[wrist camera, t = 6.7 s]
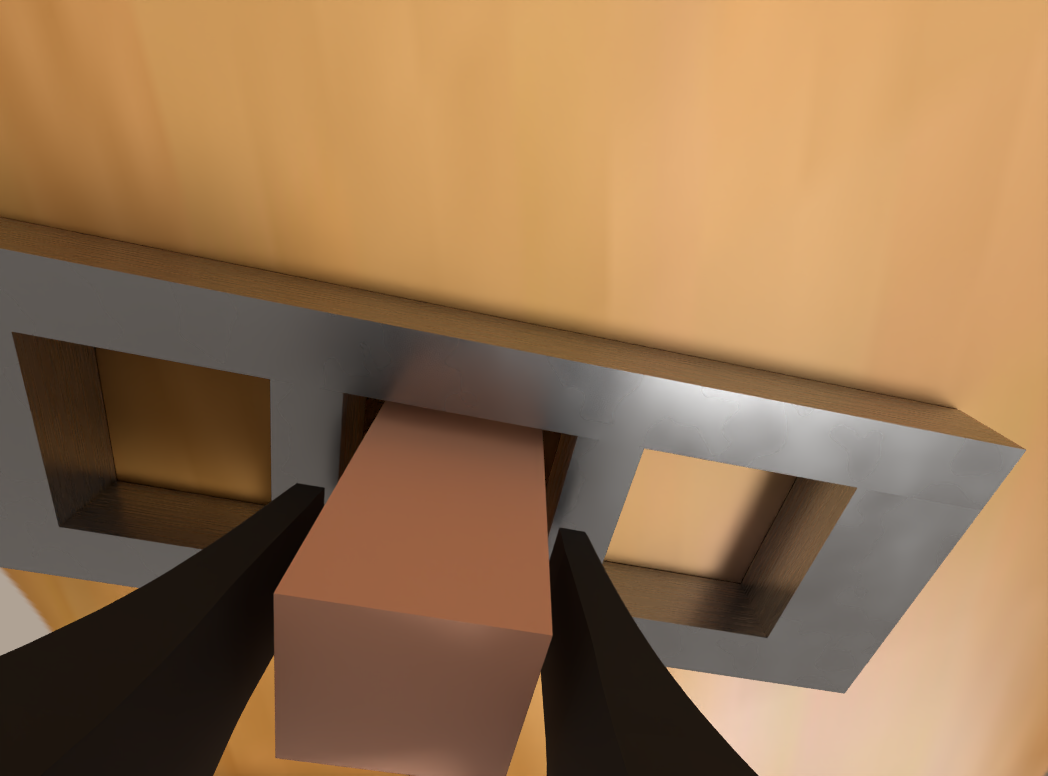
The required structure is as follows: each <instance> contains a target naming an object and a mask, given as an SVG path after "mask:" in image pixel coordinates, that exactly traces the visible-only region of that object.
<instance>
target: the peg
mask: <svg viewBox="0 0 1048 776" xmlns="http://www.w3.org/2000/svg"><path fill="white" fill-rule="evenodd" d="M552 636H553V634H552V614H551V593H550V573H549V552H548V532H547V511H546V491H545V470H544V450H543V430H542V429H537V428H532V427H526V426H521V425H515V424H510V423H505V422H499V421H494V420H488V419H483V418H477V417H472V416H467V415H461V414H456V413H450V412H445V411H440V410H434V409H429V408H423V407H418V406H412V405H407V404H402V403H396V402H391V401H385V402H384V404H383V406H382V407H381V409H380V411H379V413H378V414H377V416H376V418H375V420H374V421H373V423H372V425H371V426H370V428H369V430H368V432H367V433H366V435H365V437H364V438H363V440H362V442H361V444H360V445H359V447H358V449H357V451H356V452H355V454H354V456H353V457H352V459H351V461H350V463H349V464H348V466H347V468H346V469H345V471H344V473H343V475H342V476H341V478H340V480H339V482H338V483H337V485H336V487H335V488H334V490H333V492H332V494H331V495H330V497H329V499H328V500H327V502H326V504H325V506H324V507H323V509H322V511H321V512H320V514H319V516H318V518H317V519H316V521H315V523H314V525H313V526H312V528H311V530H310V531H309V533H308V535H307V537H306V538H305V540H304V542H303V543H302V545H301V547H300V549H299V550H298V552H297V554H296V556H295V557H294V559H293V561H292V562H291V564H290V566H289V568H288V569H287V571H286V573H285V574H284V576H283V578H282V580H281V581H280V583H279V585H278V587H277V588H276V590H275V592H274V670H275V751H276V758H280V759H287V760H295V761H303V762H311V763H319V764H327V765H335V766H343V767H351V768H359V769H367V770H375V771H383V772H390V773H398V774H406V775H414V776H506V774H507V771H508V768H509V765H510V762H511V759H512V756H513V753H514V750H515V747H516V744H517V741H518V738H519V735H520V732H521V729H522V726H523V723H524V720H525V717H526V714H527V711H528V708H529V705H530V702H531V699H532V696H533V693H534V690H535V687H536V684H537V681H538V678H539V675H540V672H541V669H542V666H543V663H544V660H545V657H546V654H547V651H548V648H549V645H550V642H551V639H552Z"/></svg>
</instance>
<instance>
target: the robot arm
mask: <svg viewBox="0 0 1048 776" xmlns="http://www.w3.org/2000/svg"><path fill="white" fill-rule="evenodd" d="M324 497H325V488H324V487H318V486H312V485H306V484H300V483H296V484H295V485H293V486H292V487H290V488H289V489H287V490H286V491H285V492H283V493H282V494H281V495H279V496H278V497H276V498H275V499H274V500H272V501H271V502H270V503H268V504H267V505H266V506H264V507H263V508H262V509H260V510H259V511H257V512H256V513H255V514H253V515H252V516H250V517H249V518H248V519H246V520H245V521H244V522H242V523H241V524H239V525H238V526H236V527H235V528H233V529H232V530H231V531H229V532H228V533H226V534H225V535H223V536H222V537H220V538H219V539H217V540H216V541H215V542H213V543H212V544H210V545H209V546H207V547H206V548H204V549H202V550H201V551H199V552H198V553H196V554H195V555H193V556H191V557H190V558H188V559H187V560H185V561H183V562H182V563H180V564H179V565H177V566H176V567H174V568H172V569H171V570H169V571H168V572H166V573H164V574H163V575H161V576H159V577H158V578H156V579H154V580H152V581H151V582H149V583H147V584H146V585H144V586H142V587H140V588H139V589H137V590H135V591H133V592H131V593H130V594H128V595H126V596H124V597H122V598H120V599H118V600H117V601H115V602H113V603H111V604H109V605H107V606H105V607H103V608H101V609H99V610H98V611H96V612H94V613H91V614H89V615H87V616H85V617H83V618H81V619H79V620H77V621H75V622H73V623H71V624H68V625H66V626H64V627H62V628H60V629H58V630H56V631H54V632H52V633H50V634H48V635H45V636H43V637H41V638H39V639H37V640H35V641H33V642H31V643H29V644H26V645H24V646H22V647H20V648H17V649H15V650H13V651H10V652H8V653H6V654H3V655H1V656H0V776H213V775H214V772H215V770H216V768H217V766H218V763H219V761H220V759H221V757H222V755H223V752H224V750H225V748H226V746H227V743H228V741H229V739H230V737H231V735H232V732H233V730H234V728H235V726H236V724H237V722H238V720H239V718H240V716H241V714H242V712H243V710H244V708H245V706H246V704H247V702H248V700H249V698H250V697H251V695H252V693H253V691H254V689H255V688H256V686H257V684H258V682H259V680H260V679H261V677H262V675H263V673H264V672H265V670H266V668H267V666H268V664H269V663H270V661H271V659H272V657H273V655H274V592H275V590H276V588H277V587H278V585H279V583H280V581H281V580H282V578H283V576H284V574H285V573H286V571H287V569H288V568H289V566H290V564H291V562H292V561H293V559H294V557H295V556H296V554H297V552H298V550H299V549H300V547H301V545H302V543H303V542H304V540H305V538H306V537H307V535H308V533H309V531H310V530H311V528H312V526H313V525H314V523H315V521H316V519H317V518H318V516H319V514H320V512H321V511H322V509H323V507H324ZM549 573H550V593H551V614H552V634H553V636H552V639H551V642H550V645H549V648H548V651H547V654H546V657H545V660H544V663H543V666H542V669H541V682H542V695H543V709H544V722H545V736H546V758H547V776H758V775H757V774H756V773H755V772H754V770H753V769H752V768H751V767H750V766H749V765H748V764H747V763H746V762H745V761H744V760H743V759H742V758H741V757H740V756H739V755H738V754H737V753H736V751H735V750H734V749H733V748H732V747H731V746H730V745H729V744H728V743H727V741H726V740H725V739H724V738H723V737H722V736H721V735H720V734H719V732H718V731H717V730H716V729H715V728H714V727H713V726H712V724H711V723H710V722H709V721H708V720H707V719H706V718H705V716H704V715H703V714H702V713H701V712H700V711H699V709H698V708H697V707H696V706H695V705H694V703H693V702H692V701H691V700H690V699H689V697H688V696H687V695H686V693H685V692H684V691H683V690H682V688H681V687H680V686H679V684H678V683H677V682H676V680H675V679H674V678H673V677H672V675H671V674H670V673H669V671H668V670H667V668H666V667H665V666H664V664H663V663H662V661H661V660H660V659H659V657H658V656H657V654H656V653H655V651H654V650H653V648H652V647H651V645H650V644H649V642H648V641H647V639H646V638H645V636H644V635H643V633H642V632H641V630H640V629H639V627H638V625H637V624H636V622H635V621H634V619H633V617H632V616H631V614H630V612H629V611H628V609H627V607H626V606H625V604H624V602H623V601H622V599H621V597H620V595H619V594H618V592H617V590H616V588H615V587H614V585H613V583H612V581H611V579H610V578H609V576H608V574H607V572H606V570H605V568H604V566H603V565H602V563H601V561H600V559H599V557H598V555H597V553H596V551H595V549H594V547H593V545H592V543H591V541H590V539H589V537H588V535H587V534H586V532H584V531H578V530H572V529H566V528H560V527H559V530H558V533H557V537H556V540H555V543H554V547H553V550H552V553H551V557H550V560H549Z"/></svg>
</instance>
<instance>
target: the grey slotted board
mask: <svg viewBox="0 0 1048 776" xmlns="http://www.w3.org/2000/svg"><path fill="white" fill-rule="evenodd" d="M94 347H98V348H104V349H109V350H114V351H120V352H125V353H131V354H136V355H141V356H147V357H152V358H158V359H163V360H169V361H174V362H179V363H185V364H190V365H196V366H201V367H207V368H212V369H217V370H223V371H228V372H234V373H239V374H244V375H250V376H255V377H261V378H266V379H270V408H271V493H272V500H274V499H275V498H276V497H278V496H279V495H281V494H282V493H283V492H285V491H286V490H287V489H289V488H290V487H292V486H293V485H295V484H296V483H300V484H306V485H312V486H318V487H324V488H325V497H324V506H325V504H326V502H327V500H328V499H329V497H330V495H331V494H332V492H333V490H334V488H335V487H336V485H337V483H338V482H339V480H340V478H341V476H342V475H343V473H344V471H345V469H346V468H347V466H348V464H349V463H350V461H351V459H352V457H353V456H354V454H355V452H356V451H357V449H358V447H359V445H360V444H361V442H362V440H363V430H364V417H365V404H366V397H369V398H374V399H380V400H385V401H391V402H396V403H402V404H407V405H412V406H418V407H423V408H429V409H434V410H440V411H445V412H450V413H456V414H461V415H467V416H472V417H477V418H483V419H488V420H494V421H499V422H505V423H510V424H515V425H521V426H526V427H532V428H537V429H542V430H548V431H553V432H559V433H561V437H560V440H559V444H558V448H557V451H556V455H555V458H554V462H553V466H552V469H551V473H550V477H549V480H548V484H547V488H546V511H547V532H548V552H549V560H550V557H551V553H552V550H553V547H554V543H555V540H556V537H557V533H558V530H559V527H560V528H566V529H572V530H578V531H584V532H586V534H587V535H588V537H589V539H590V541H591V543H592V545H593V547H594V549H595V551H596V553H597V555H598V557H599V559H600V561H601V563H602V565H603V566H604V568H605V570H606V572H607V574H608V576H609V578H610V579H611V581H612V583H613V585H614V587H615V588H616V590H617V592H618V594H619V595H620V597H621V599H622V601H623V602H624V604H625V606H626V607H627V609H628V611H629V612H630V614H631V616H632V617H633V619H634V621H635V622H636V624H637V625H638V627H639V629H640V630H641V632H642V633H643V635H644V636H645V638H646V639H647V641H648V642H649V644H650V645H651V647H652V648H653V650H654V651H655V653H656V654H657V656H658V657H659V659H660V660H661V661H662V663H663V664H664V666H665V667H671V668H678V669H685V670H691V671H698V672H705V673H711V674H718V675H725V676H731V677H738V678H745V679H751V680H758V681H765V682H772V683H778V684H785V685H792V686H798V687H805V688H812V689H818V690H825V691H832V692H838V693H845V692H846V691H847V690H848V688H849V687H850V685H851V684H852V683H853V681H854V680H855V679H856V677H857V676H858V675H859V673H860V672H861V671H862V669H863V668H864V667H865V665H866V664H867V663H868V661H869V660H870V659H871V657H872V656H873V655H874V653H875V652H876V651H877V649H878V648H879V647H880V645H881V644H882V643H883V641H884V640H885V639H886V637H887V636H888V635H889V633H890V632H891V631H892V629H893V628H894V627H895V625H896V624H897V623H898V621H899V620H900V619H901V617H902V616H903V615H904V613H905V612H906V611H907V609H908V608H909V606H910V605H911V604H912V602H913V601H914V600H915V598H916V597H917V596H918V594H919V593H920V592H921V590H922V589H923V588H924V586H925V585H926V584H927V582H928V581H929V580H930V578H931V577H932V576H933V574H934V573H935V572H936V570H937V569H938V568H939V566H940V565H941V564H942V562H943V561H944V560H945V558H946V557H947V556H948V554H949V553H950V552H951V550H952V549H953V548H954V546H955V545H956V544H957V542H958V541H959V540H960V538H961V537H962V536H963V534H964V533H965V532H966V530H967V529H968V528H969V526H970V525H971V523H972V522H973V521H974V519H975V518H976V517H977V515H978V514H979V513H980V511H981V510H982V509H983V507H984V506H985V505H986V503H987V502H988V501H989V499H990V498H991V497H992V495H993V494H994V493H995V491H996V490H997V489H998V487H999V486H1000V485H1001V483H1002V482H1003V481H1004V479H1005V478H1006V477H1007V475H1008V474H1009V473H1010V471H1011V470H1012V469H1013V467H1014V466H1015V465H1016V463H1017V462H1018V461H1019V459H1020V458H1021V457H1022V455H1023V454H1024V453H1025V451H1026V449H1024V448H1022V447H1021V446H1019V445H1017V444H1016V443H1014V442H1012V441H1011V440H1009V439H1007V438H1006V437H1004V436H1002V435H1001V434H999V433H997V432H996V431H994V430H992V429H990V428H989V427H987V426H985V425H984V424H982V423H980V422H979V421H977V420H975V419H974V418H972V417H970V416H969V415H967V414H965V413H964V412H962V411H960V410H957V409H952V408H947V407H942V406H937V405H932V404H927V403H922V402H917V401H912V400H907V399H902V398H897V397H892V396H887V395H882V394H877V393H872V392H867V391H862V390H857V389H853V388H848V387H843V386H838V385H833V384H828V383H823V382H818V381H813V380H808V379H803V378H798V377H793V376H788V375H783V374H778V373H773V372H768V371H763V370H758V369H753V368H748V367H743V366H738V365H733V364H728V363H723V362H718V361H713V360H708V359H703V358H698V357H693V356H688V355H683V354H678V353H673V352H668V351H664V350H659V349H654V348H649V347H644V346H639V345H634V344H629V343H624V342H619V341H614V340H609V339H604V338H599V337H594V336H589V335H584V334H579V333H574V332H569V331H564V330H559V329H554V328H549V327H544V326H539V325H534V324H529V323H524V322H519V321H514V320H509V319H504V318H499V317H494V316H489V315H484V314H479V313H475V312H470V311H465V310H460V309H455V308H450V307H445V306H440V305H435V304H430V303H425V302H420V301H415V300H410V299H405V298H400V297H395V296H390V295H385V294H380V293H375V292H370V291H365V290H360V289H355V288H350V287H345V286H340V285H335V284H330V283H325V282H320V281H315V280H310V279H305V278H300V277H295V276H290V275H285V274H281V273H276V272H271V271H266V270H261V269H256V268H251V267H246V266H241V265H236V264H231V263H226V262H221V261H216V260H211V259H206V258H201V257H196V256H191V255H186V254H181V253H176V252H171V251H166V250H161V249H156V248H151V247H146V246H141V245H136V244H131V243H126V242H121V241H116V240H111V239H106V238H101V237H96V236H92V235H87V234H82V233H77V232H72V231H67V230H62V229H57V228H52V227H47V226H42V225H37V224H32V223H27V222H22V221H17V220H12V219H7V218H2V217H0V567H3V568H10V569H16V570H23V571H30V572H36V573H43V574H50V575H56V576H63V577H70V578H76V579H83V580H90V581H96V582H103V583H110V584H116V585H123V586H130V587H137V588H140V587H142V586H144V585H146V584H147V583H149V582H151V581H152V580H154V579H156V578H158V577H159V576H161V575H163V574H164V573H166V572H168V571H169V570H171V569H172V568H174V567H176V566H177V565H179V564H180V563H182V562H183V561H185V560H187V559H188V558H190V557H191V556H193V555H195V554H196V553H198V552H199V551H201V550H202V549H204V548H206V547H207V546H209V545H210V544H212V543H213V542H215V541H216V540H217V539H219V538H220V537H222V536H223V535H225V534H226V533H228V532H229V531H231V530H232V529H233V528H235V527H236V526H238V525H239V524H241V523H242V522H244V521H245V520H246V519H248V518H249V517H250V516H252V515H253V514H255V513H256V512H257V511H259V510H260V509H262V508H263V507H264V506H266V505H260V504H254V503H248V502H242V501H236V500H229V499H223V498H217V497H211V496H205V495H199V494H193V493H187V492H181V491H175V490H169V489H163V488H157V487H151V486H145V485H139V484H133V483H127V482H120V481H117V479H116V473H115V467H114V461H113V455H112V450H111V444H110V438H109V432H108V426H107V421H106V415H105V409H104V403H103V397H102V391H101V386H100V380H99V374H98V368H97V362H96V357H95V351H94ZM644 448H645V449H651V450H656V451H662V452H667V453H673V454H678V455H683V456H689V457H694V458H700V459H705V460H710V461H716V462H721V463H727V464H732V465H738V466H743V467H748V468H754V469H759V470H765V471H770V472H775V473H781V474H786V475H792V476H797V479H796V481H795V483H794V485H793V487H792V489H791V490H790V492H789V494H788V496H787V498H786V500H785V502H784V504H783V505H782V507H781V509H780V511H779V513H778V515H777V517H776V519H775V521H774V522H773V524H772V526H771V528H770V530H769V532H768V534H767V536H766V537H765V539H764V541H763V543H762V545H761V547H760V549H759V551H758V553H757V554H756V556H755V558H754V560H753V562H752V564H751V566H750V568H749V569H748V571H747V573H746V575H745V577H744V579H743V581H742V583H741V584H738V583H732V582H726V581H720V580H714V579H708V578H702V577H696V576H690V575H684V574H678V573H672V572H666V571H659V570H653V569H647V568H641V567H635V566H629V565H623V564H617V563H611V562H605V561H603V560H604V558H605V555H606V552H607V549H608V547H609V544H610V541H611V538H612V535H613V533H614V530H615V527H616V524H617V522H618V519H619V516H620V513H621V511H622V508H623V505H624V502H625V500H626V497H627V494H628V491H629V489H630V486H631V483H632V480H633V478H634V475H635V472H636V469H637V466H638V464H639V461H640V458H641V455H642V453H643V450H644Z"/></svg>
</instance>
